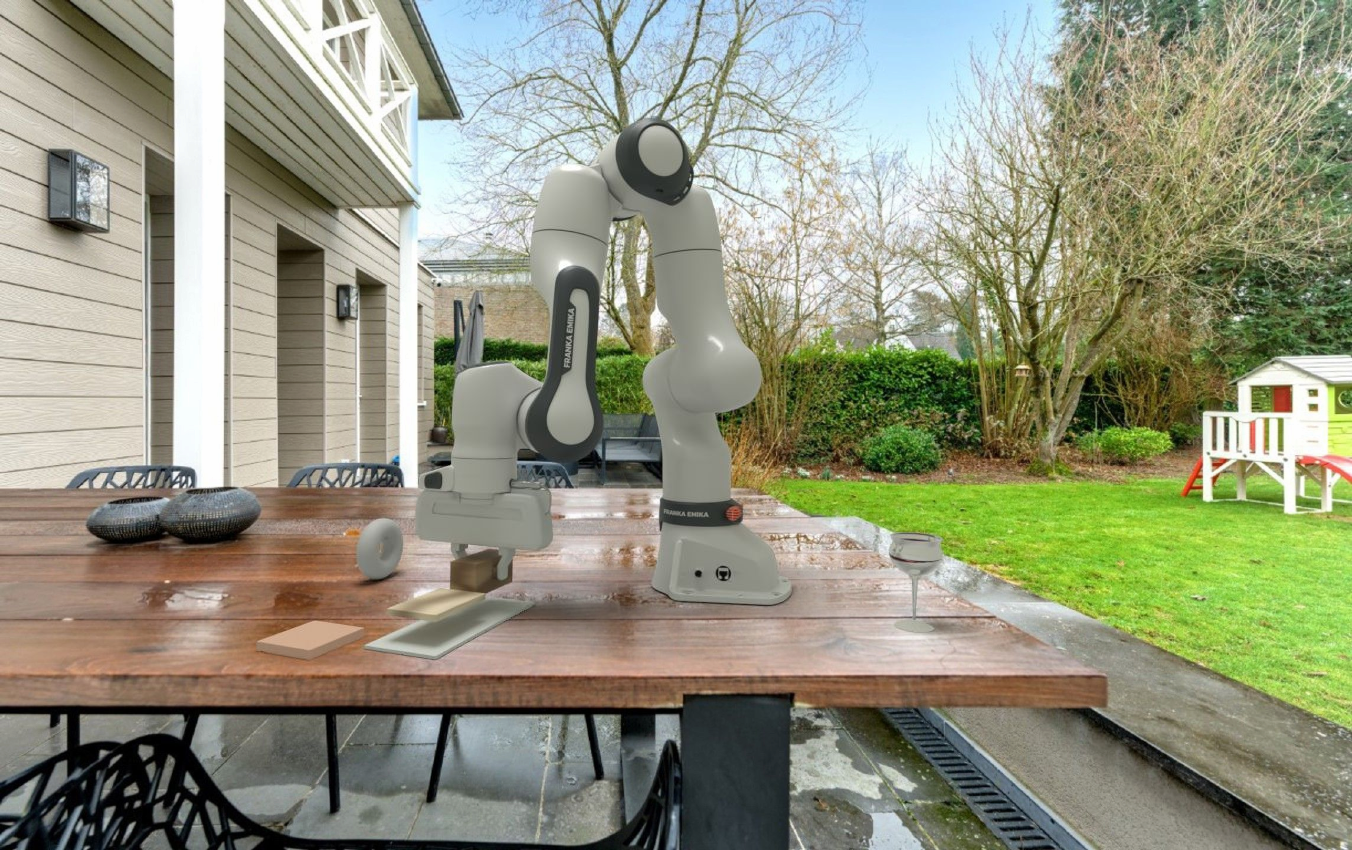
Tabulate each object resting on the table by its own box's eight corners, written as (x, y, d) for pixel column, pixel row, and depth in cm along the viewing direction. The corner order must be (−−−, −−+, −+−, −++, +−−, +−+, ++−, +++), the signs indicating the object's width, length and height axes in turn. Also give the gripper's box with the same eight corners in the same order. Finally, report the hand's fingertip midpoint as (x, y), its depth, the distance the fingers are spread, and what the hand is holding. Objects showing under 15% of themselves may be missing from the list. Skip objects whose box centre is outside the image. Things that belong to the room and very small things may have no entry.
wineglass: (943, 637, 84) (945, 543, 83) (887, 631, 86) (889, 539, 85) (938, 621, 90) (940, 533, 90) (886, 615, 92) (888, 530, 92)
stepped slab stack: (521, 583, 95) (522, 552, 95) (435, 622, 77) (436, 583, 77) (479, 578, 97) (480, 547, 97) (386, 615, 79) (387, 577, 79)
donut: (370, 587, 103) (370, 524, 103) (351, 586, 104) (350, 523, 104) (407, 571, 113) (407, 514, 113) (389, 570, 114) (389, 513, 113)
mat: (534, 604, 95) (534, 602, 95) (435, 659, 74) (435, 656, 74) (475, 597, 98) (475, 595, 98) (364, 648, 77) (364, 645, 77)
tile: (364, 627, 81) (309, 650, 74) (364, 640, 81) (309, 664, 74) (314, 620, 84) (256, 641, 76) (314, 632, 84) (256, 655, 76)
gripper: (562, 479, 91) (560, 578, 91) (437, 472, 97) (436, 565, 98) (539, 484, 85) (537, 590, 85) (408, 475, 91) (406, 574, 92)
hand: (482, 576), depth 92 cm, fingers closed on stepped slab stack, 4 cm apart
